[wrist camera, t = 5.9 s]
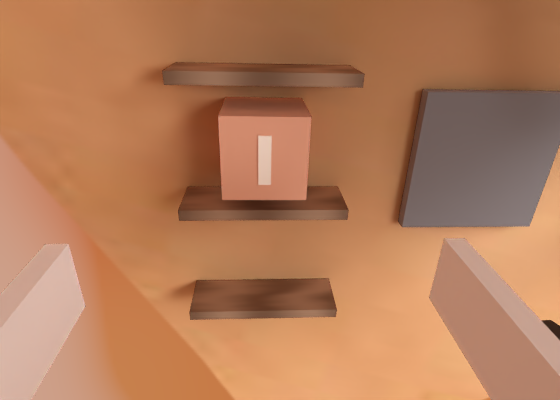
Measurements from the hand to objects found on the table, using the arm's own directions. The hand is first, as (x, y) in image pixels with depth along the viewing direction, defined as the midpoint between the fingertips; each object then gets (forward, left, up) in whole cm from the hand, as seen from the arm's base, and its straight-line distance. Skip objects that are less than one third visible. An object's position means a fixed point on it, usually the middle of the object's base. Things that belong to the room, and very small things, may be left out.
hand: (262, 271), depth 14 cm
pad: (-17, +2, -16) cm, 24 cm away
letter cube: (0, 0, -17) cm, 17 cm away
